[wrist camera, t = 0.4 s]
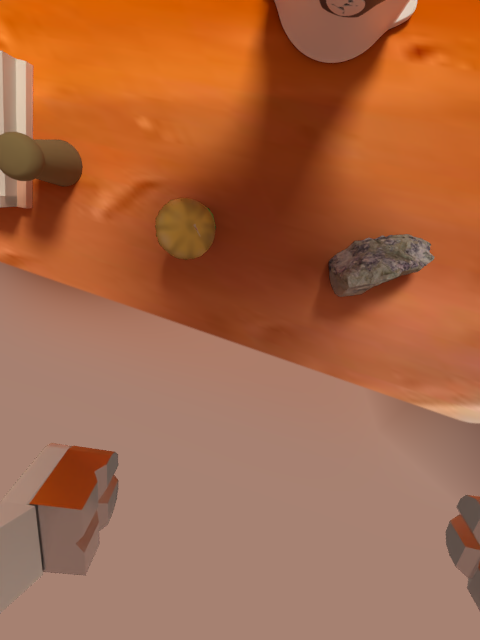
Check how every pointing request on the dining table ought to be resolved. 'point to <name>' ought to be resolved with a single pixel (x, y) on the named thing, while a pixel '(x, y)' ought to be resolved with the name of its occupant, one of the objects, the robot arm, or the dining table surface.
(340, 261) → the mineral rock
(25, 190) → the white tray
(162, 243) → the hamburger
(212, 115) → the dining table surface
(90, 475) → the robot arm
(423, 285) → the dining table surface
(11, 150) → the cork
